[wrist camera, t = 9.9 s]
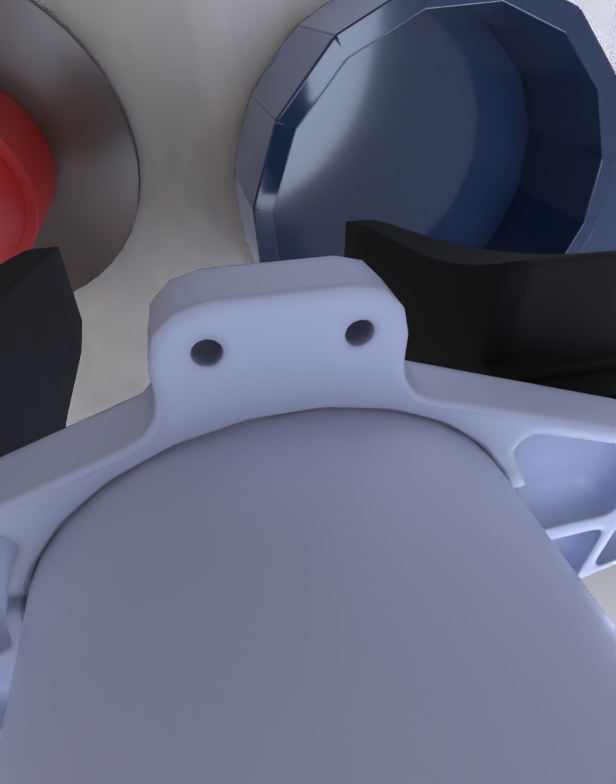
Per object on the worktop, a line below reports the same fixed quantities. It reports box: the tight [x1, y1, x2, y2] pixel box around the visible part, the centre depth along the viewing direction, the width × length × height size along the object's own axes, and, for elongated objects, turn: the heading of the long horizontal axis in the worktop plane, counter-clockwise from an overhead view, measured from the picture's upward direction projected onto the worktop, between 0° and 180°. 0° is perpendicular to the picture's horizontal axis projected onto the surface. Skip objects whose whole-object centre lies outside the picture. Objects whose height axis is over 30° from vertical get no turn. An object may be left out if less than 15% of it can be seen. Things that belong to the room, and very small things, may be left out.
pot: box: [234, 0, 616, 263], centre depth 20 cm, size 13×13×5 cm
